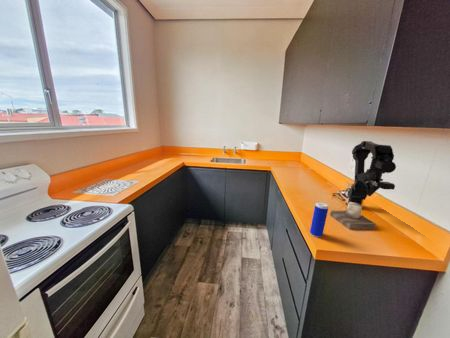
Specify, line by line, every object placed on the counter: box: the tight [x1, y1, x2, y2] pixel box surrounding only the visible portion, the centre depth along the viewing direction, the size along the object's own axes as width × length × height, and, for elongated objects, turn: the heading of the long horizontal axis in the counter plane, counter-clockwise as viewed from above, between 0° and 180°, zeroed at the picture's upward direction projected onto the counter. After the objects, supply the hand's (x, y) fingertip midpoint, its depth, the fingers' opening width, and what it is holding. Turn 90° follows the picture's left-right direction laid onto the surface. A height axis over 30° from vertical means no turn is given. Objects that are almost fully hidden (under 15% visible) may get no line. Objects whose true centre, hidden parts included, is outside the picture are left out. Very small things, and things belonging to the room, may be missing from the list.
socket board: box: [330, 209, 377, 230], centre depth 96 cm, size 14×14×3 cm
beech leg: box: [345, 202, 363, 220], centre depth 95 cm, size 6×6×10 cm
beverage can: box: [309, 201, 329, 238], centre depth 81 cm, size 5×5×15 cm
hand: (369, 195), depth 99 cm, fingers closed
